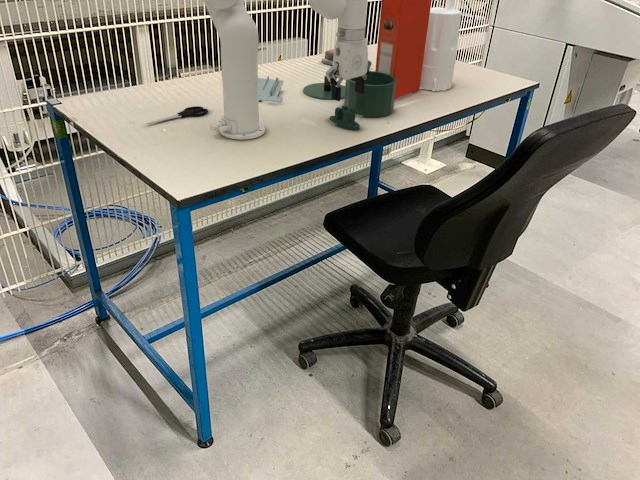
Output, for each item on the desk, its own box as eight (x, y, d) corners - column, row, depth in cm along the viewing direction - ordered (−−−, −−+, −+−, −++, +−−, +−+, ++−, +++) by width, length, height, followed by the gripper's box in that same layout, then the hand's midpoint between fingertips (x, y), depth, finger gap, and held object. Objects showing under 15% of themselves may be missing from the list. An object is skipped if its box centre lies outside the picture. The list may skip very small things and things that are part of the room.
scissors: (154, 129, 145) (211, 113, 158) (153, 126, 145) (211, 110, 158) (141, 122, 149) (198, 107, 162) (140, 119, 149) (197, 104, 161)
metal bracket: (247, 70, 176) (290, 75, 174) (249, 85, 181) (291, 90, 178) (234, 95, 167) (279, 99, 165) (236, 110, 172) (280, 115, 169)
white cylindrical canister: (437, 93, 183) (455, -11, 165) (402, 83, 191) (414, -17, 172) (458, 84, 193) (477, -15, 174) (423, 75, 201) (438, -20, 182)
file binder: (372, 95, 178) (382, -6, 160) (400, 85, 189) (412, -11, 171) (391, 101, 174) (404, -3, 156) (419, 90, 185) (433, -8, 167)
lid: (326, 105, 168) (327, 87, 165) (293, 91, 178) (293, 74, 175) (361, 95, 178) (362, 78, 175) (328, 83, 188) (328, 67, 185)
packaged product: (320, 50, 207) (337, 46, 214) (320, 62, 210) (337, 59, 216) (354, 60, 197) (371, 56, 203) (353, 73, 200) (370, 68, 206)
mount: (325, 121, 156) (326, 105, 153) (335, 118, 159) (336, 102, 156) (353, 132, 150) (354, 115, 147) (363, 128, 153) (364, 111, 150)
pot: (369, 121, 158) (372, 89, 152) (333, 107, 167) (335, 76, 161) (402, 110, 167) (406, 79, 161) (366, 98, 176) (369, 68, 170)
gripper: (338, 41, 133) (335, 106, 143) (382, 32, 143) (377, 93, 153) (318, 36, 138) (317, 99, 147) (362, 27, 147) (358, 87, 157)
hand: (347, 96), depth 150 cm, fingers open, 9 cm apart
